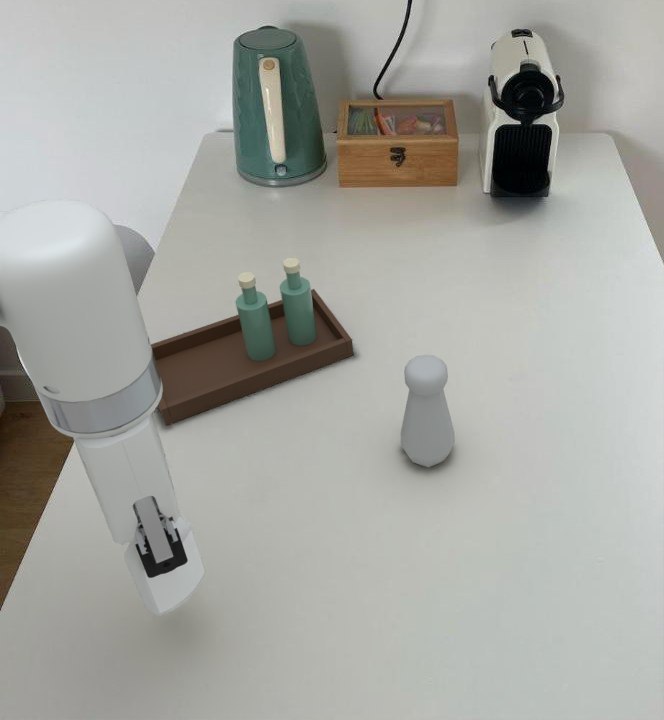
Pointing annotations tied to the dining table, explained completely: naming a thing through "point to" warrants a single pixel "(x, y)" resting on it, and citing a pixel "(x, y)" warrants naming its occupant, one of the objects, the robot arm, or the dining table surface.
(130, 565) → the white plastic bottle
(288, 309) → the green bottle
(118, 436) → the robot arm
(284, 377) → the tray
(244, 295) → the green bottle
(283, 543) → the dining table surface
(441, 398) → the salt shaker
